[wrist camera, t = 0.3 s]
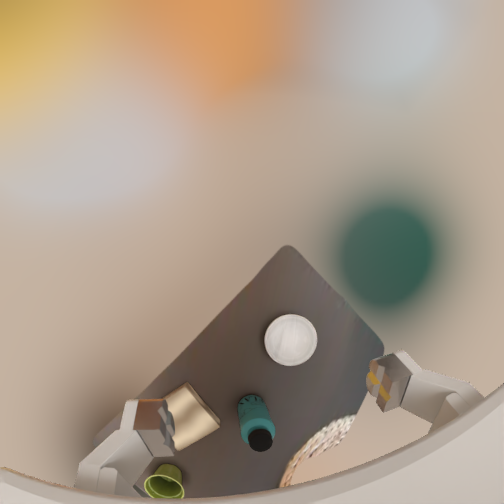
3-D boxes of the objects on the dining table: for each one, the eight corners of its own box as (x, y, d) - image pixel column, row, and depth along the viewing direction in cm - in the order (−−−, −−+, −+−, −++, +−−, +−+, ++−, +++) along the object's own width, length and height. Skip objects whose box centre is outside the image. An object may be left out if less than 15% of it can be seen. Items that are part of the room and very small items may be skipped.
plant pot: (144, 467, 53) (136, 484, 44) (169, 452, 55) (162, 469, 46) (170, 489, 52) (165, 507, 44) (195, 475, 54) (192, 494, 45)
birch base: (220, 420, 58) (220, 426, 54) (180, 443, 55) (178, 450, 51) (187, 381, 59) (185, 386, 55) (148, 406, 56) (144, 412, 53)
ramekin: (255, 322, 63) (258, 324, 57) (301, 306, 64) (308, 306, 59) (270, 368, 61) (274, 373, 56) (315, 351, 63) (323, 355, 57)
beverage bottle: (265, 391, 60) (282, 425, 40) (264, 417, 59) (279, 457, 39) (236, 391, 59) (242, 426, 40) (236, 417, 58) (241, 458, 38)
